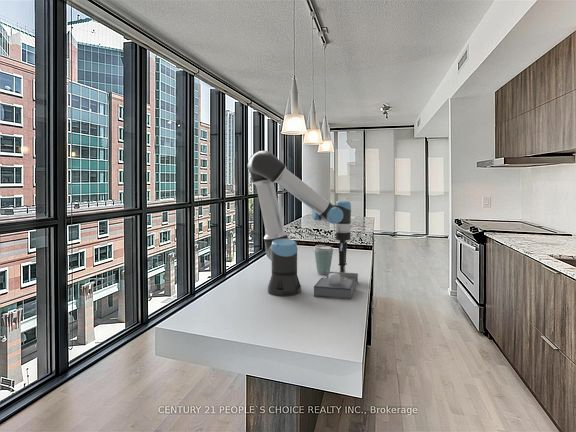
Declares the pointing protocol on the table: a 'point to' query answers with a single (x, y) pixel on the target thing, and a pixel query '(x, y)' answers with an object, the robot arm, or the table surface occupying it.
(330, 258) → the disposable coffee cup
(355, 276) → the tray
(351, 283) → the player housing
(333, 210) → the robot arm
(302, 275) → the table surface
